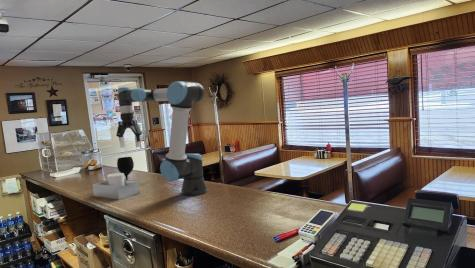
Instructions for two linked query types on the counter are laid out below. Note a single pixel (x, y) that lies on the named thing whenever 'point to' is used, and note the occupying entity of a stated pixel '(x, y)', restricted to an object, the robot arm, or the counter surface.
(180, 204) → the counter surface
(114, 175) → the white box
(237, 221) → the counter surface
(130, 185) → the steel trough
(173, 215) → the counter surface
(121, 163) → the wine glass
